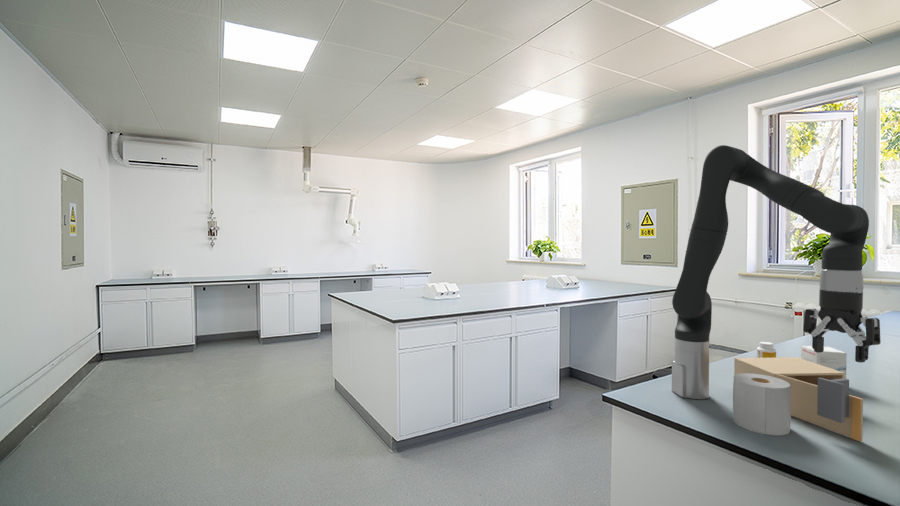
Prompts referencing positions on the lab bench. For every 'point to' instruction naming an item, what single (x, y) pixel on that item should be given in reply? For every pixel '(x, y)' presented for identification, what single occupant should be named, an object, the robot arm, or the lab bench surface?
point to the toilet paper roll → (762, 404)
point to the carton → (786, 368)
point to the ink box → (826, 357)
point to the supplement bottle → (766, 350)
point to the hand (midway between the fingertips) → (838, 356)
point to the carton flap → (827, 405)
